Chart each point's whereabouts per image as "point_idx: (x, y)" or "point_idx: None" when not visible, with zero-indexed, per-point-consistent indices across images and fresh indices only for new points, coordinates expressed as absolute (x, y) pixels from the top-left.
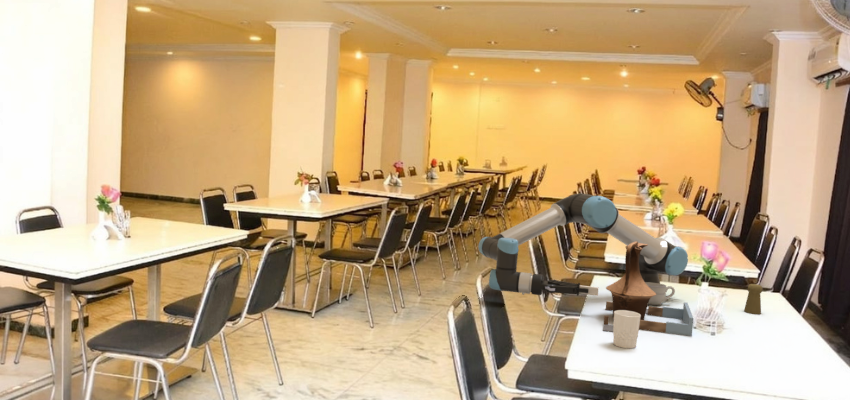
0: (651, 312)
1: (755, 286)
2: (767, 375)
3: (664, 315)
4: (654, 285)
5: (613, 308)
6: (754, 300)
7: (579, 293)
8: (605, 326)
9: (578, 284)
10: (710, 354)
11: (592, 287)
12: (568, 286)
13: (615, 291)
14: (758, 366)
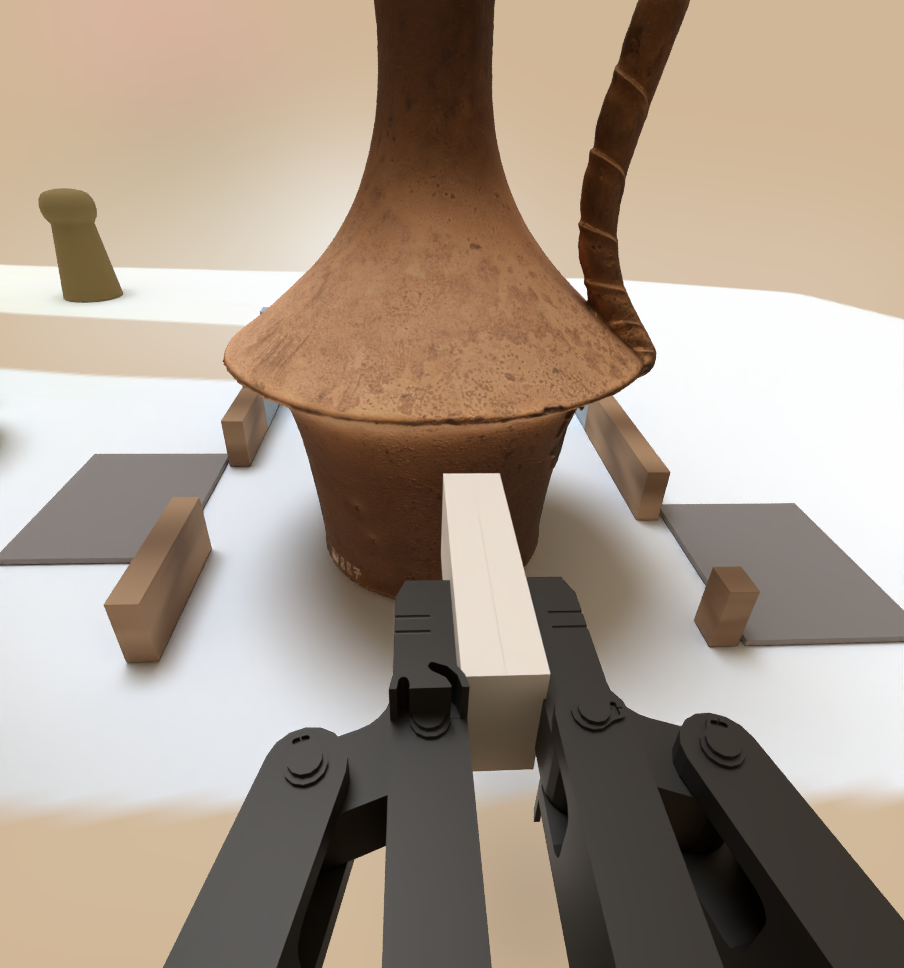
0: (252, 440)
1: (83, 195)
2: (831, 329)
3: (269, 416)
4: None
5: None
6: (101, 249)
7: (530, 762)
8: (804, 626)
9: (466, 695)
10: (775, 371)
11: (509, 518)
12: (829, 939)
13: (619, 374)
14: (768, 331)
